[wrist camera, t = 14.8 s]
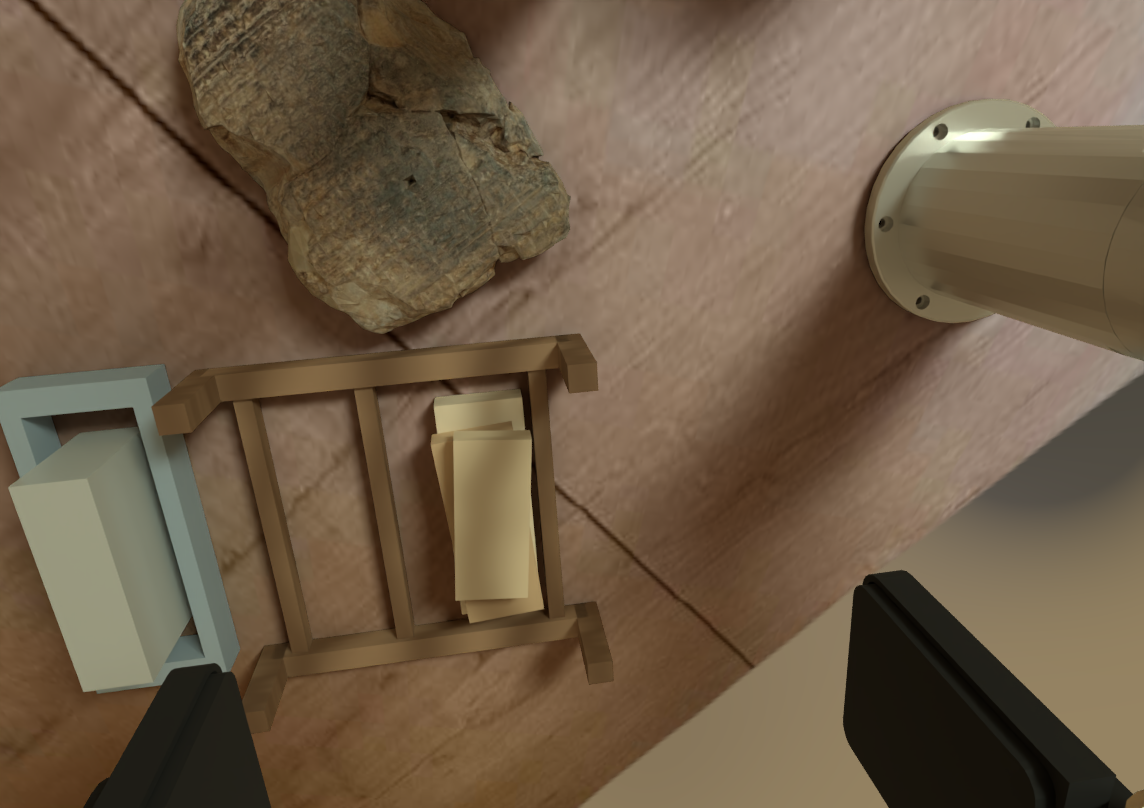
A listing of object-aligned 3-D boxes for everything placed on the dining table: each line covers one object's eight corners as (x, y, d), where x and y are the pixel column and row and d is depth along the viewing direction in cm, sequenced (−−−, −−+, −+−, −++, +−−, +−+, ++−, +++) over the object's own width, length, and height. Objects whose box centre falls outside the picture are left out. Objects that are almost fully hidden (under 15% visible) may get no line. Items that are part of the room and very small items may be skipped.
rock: (115, 14, 35) (372, 355, 42) (62, -8, 30) (361, 379, 37) (360, -154, 34) (580, 219, 41) (345, -204, 30) (596, 227, 36)
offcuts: (523, 388, 43) (529, 414, 39) (541, 589, 48) (548, 632, 44) (429, 398, 43) (425, 425, 39) (457, 600, 48) (456, 644, 43)
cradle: (164, 364, 40) (145, 377, 38) (240, 649, 47) (228, 675, 44) (18, 377, 39) (-11, 392, 37) (116, 665, 46) (97, 693, 44)
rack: (579, 333, 43) (596, 362, 37) (597, 620, 50) (613, 681, 44) (195, 370, 40) (151, 406, 35) (269, 664, 47) (242, 735, 42)
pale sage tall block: (146, 425, 41) (87, 478, 35) (198, 604, 45) (153, 682, 39) (81, 431, 41) (8, 487, 34) (138, 612, 45) (83, 692, 38)
